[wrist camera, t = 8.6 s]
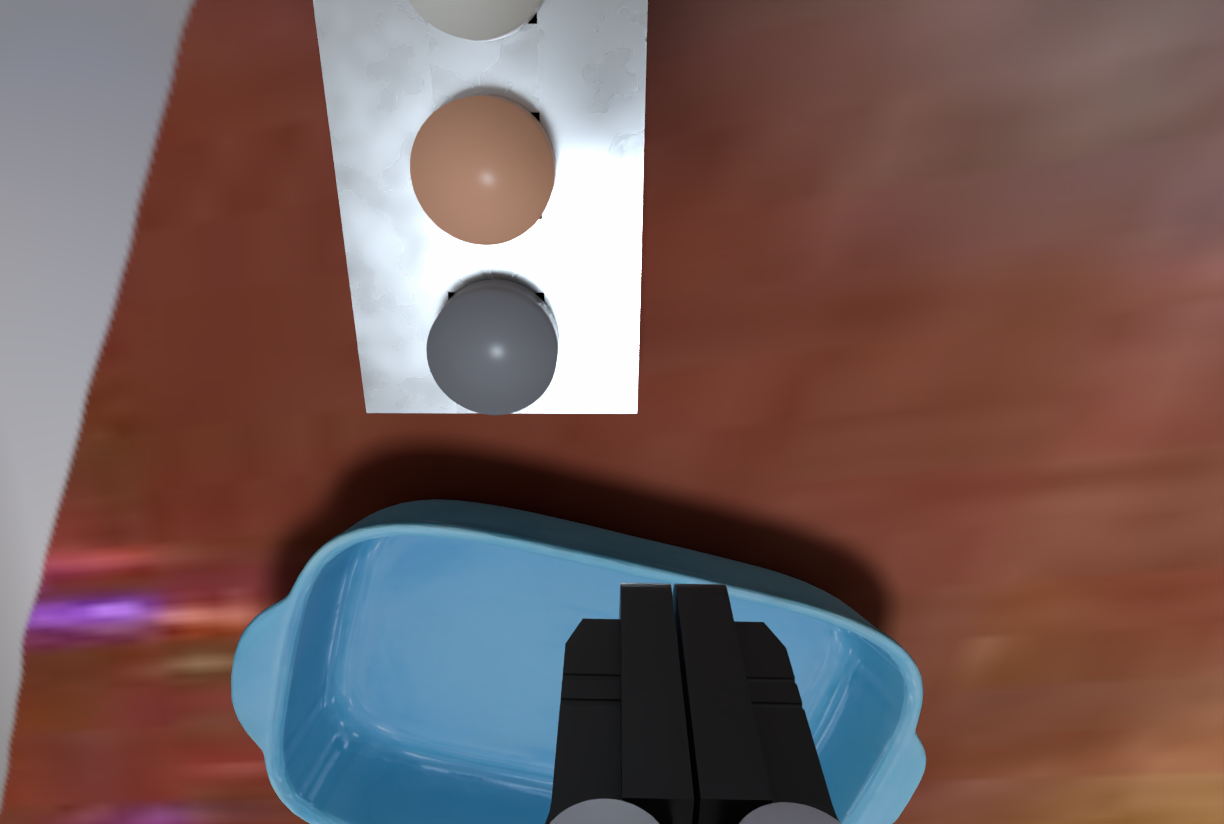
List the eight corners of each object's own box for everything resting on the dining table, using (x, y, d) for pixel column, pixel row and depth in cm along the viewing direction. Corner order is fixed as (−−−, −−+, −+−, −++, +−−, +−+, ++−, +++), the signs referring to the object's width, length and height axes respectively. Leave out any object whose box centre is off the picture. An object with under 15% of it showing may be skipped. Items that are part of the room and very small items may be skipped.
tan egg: (560, 92, 33) (551, 97, 27) (562, 215, 35) (554, 245, 29) (439, 90, 33) (402, 95, 27) (448, 214, 35) (416, 244, 29)
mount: (643, -124, 30) (651, -158, 26) (632, 373, 39) (637, 413, 34) (338, -129, 30) (291, -164, 26) (394, 372, 39) (366, 412, 34)
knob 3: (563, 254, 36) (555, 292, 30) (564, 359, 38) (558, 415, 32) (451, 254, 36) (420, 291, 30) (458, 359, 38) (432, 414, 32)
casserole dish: (951, 575, 45) (1012, 661, 38) (805, 832, 53) (834, 939, 47) (309, 413, 40) (253, 480, 33) (262, 724, 48) (209, 826, 42)
